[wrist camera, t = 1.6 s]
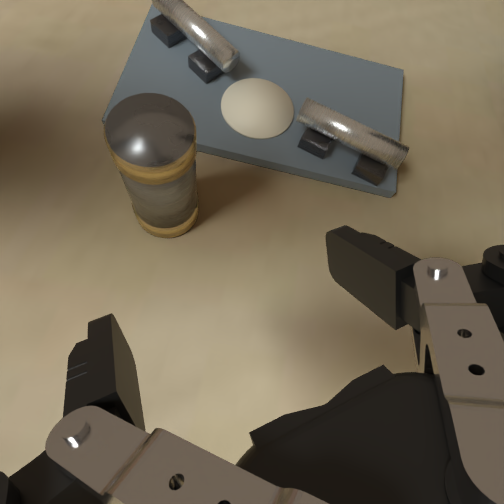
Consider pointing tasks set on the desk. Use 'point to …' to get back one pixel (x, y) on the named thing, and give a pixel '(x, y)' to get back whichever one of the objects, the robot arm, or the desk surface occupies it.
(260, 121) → the board
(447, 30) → the desk surface
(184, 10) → the shaft
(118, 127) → the banded tin drum
